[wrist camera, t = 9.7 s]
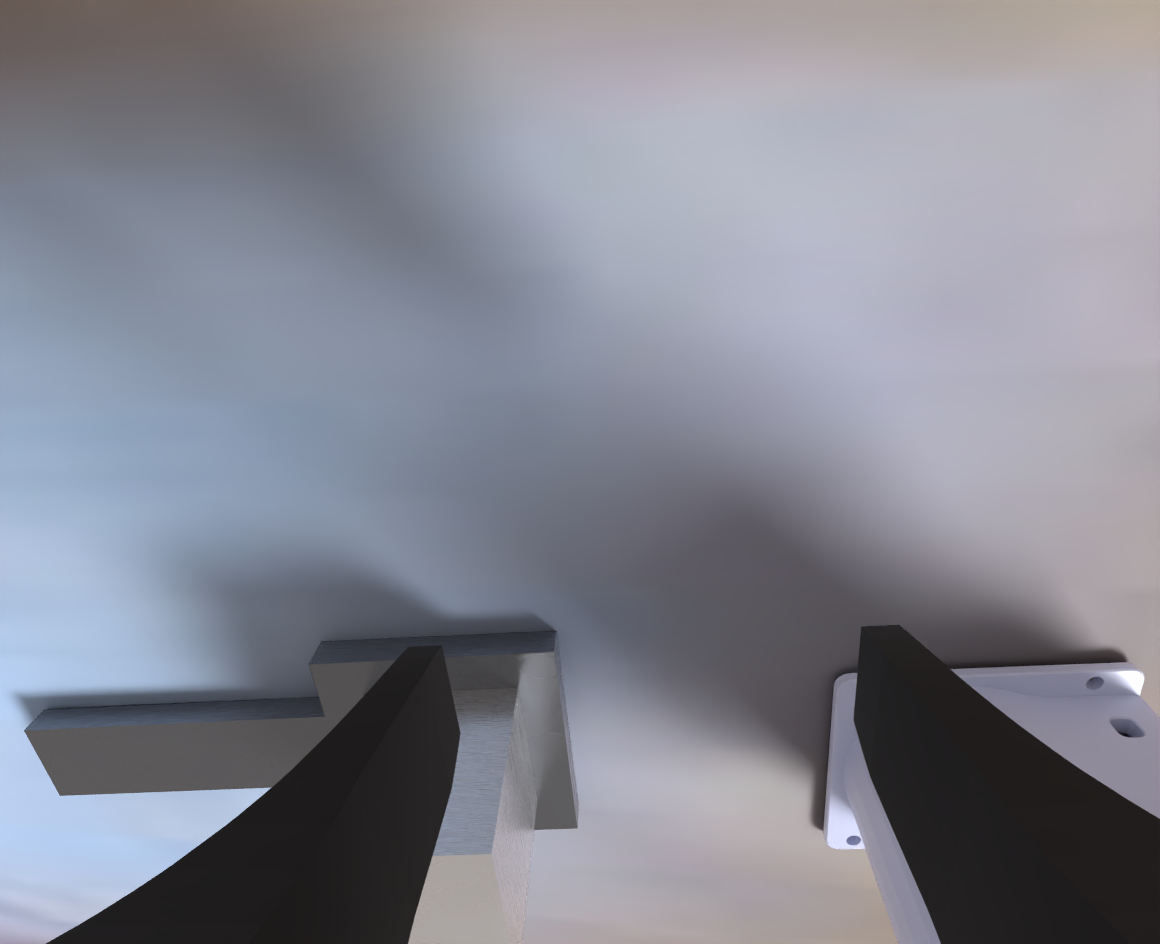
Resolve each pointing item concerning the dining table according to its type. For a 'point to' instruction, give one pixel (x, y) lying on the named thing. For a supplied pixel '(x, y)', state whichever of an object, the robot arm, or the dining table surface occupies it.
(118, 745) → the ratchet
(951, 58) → the dining table surface
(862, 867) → the dining table surface
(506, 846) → the brushed metal cube
